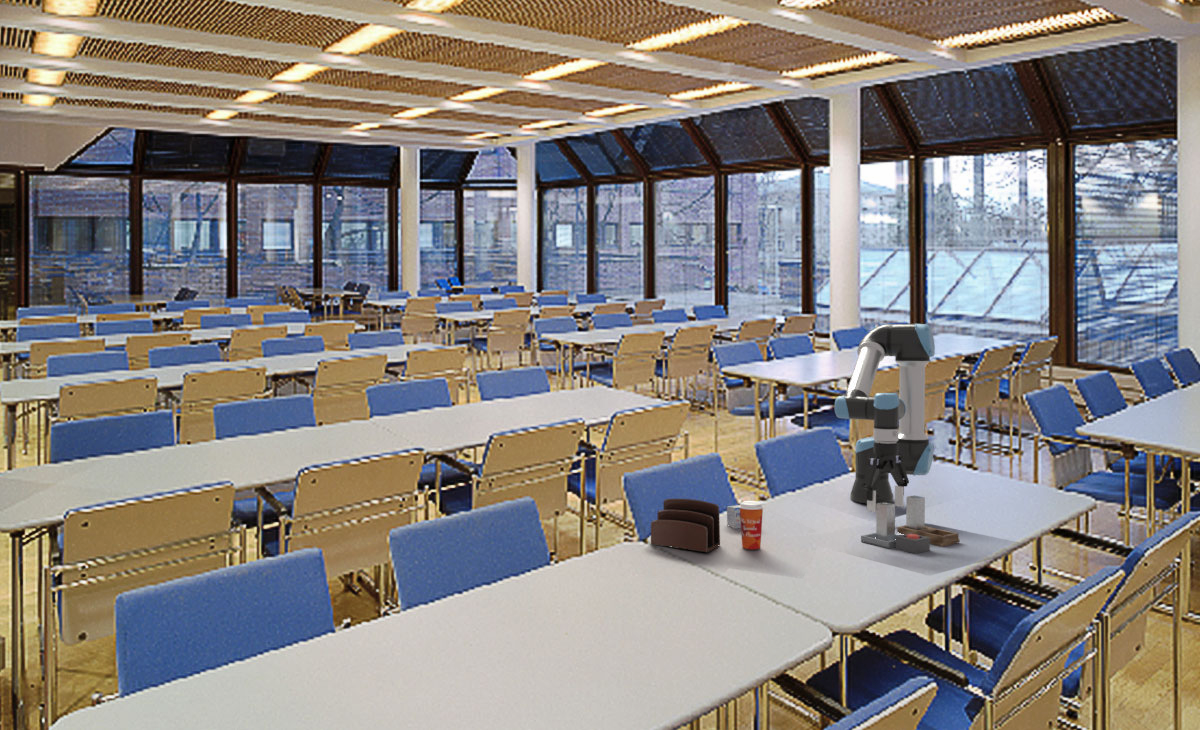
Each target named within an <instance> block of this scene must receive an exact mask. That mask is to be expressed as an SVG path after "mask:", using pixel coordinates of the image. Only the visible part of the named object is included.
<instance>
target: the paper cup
mask: <svg viewBox="0 0 1200 730" xmlns="http://www.w3.org/2000/svg"><path fill="white" fill-rule="evenodd" d="M738 505H739V508H740V520H741V528H740V531H741V546H742V548H743V549H744V550H745V549H746V550H758V549H760V548H761V543H762V530H763V529H762V527H763V525H762V524H763V509H764V508H765V506H764V504H763V503H762V501H759V500H758V501H757V500H743V501H741V502H740V503H739V504H738Z"/></svg>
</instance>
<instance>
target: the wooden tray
mask: <svg viewBox="0 0 1200 730" xmlns="http://www.w3.org/2000/svg"><path fill="white" fill-rule="evenodd" d="M896 531H897V532H899V533H901V534H909V533H912V534H916V535H921V536H925V537H930V545H932V544H933V546H938V547H942V548H943V547H947V546H951V545H955V544H954V543H956V544H958V543H957V542H961V541H960V539H959V537H960V536H959V533H957V532H953V531H948V530H945V529H940V528H934V527H930V526H926V525H925V529H922V530H913V529H909V528H906V524H905V525H900V526H897V527H896ZM897 532H896V533H897Z"/></svg>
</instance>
